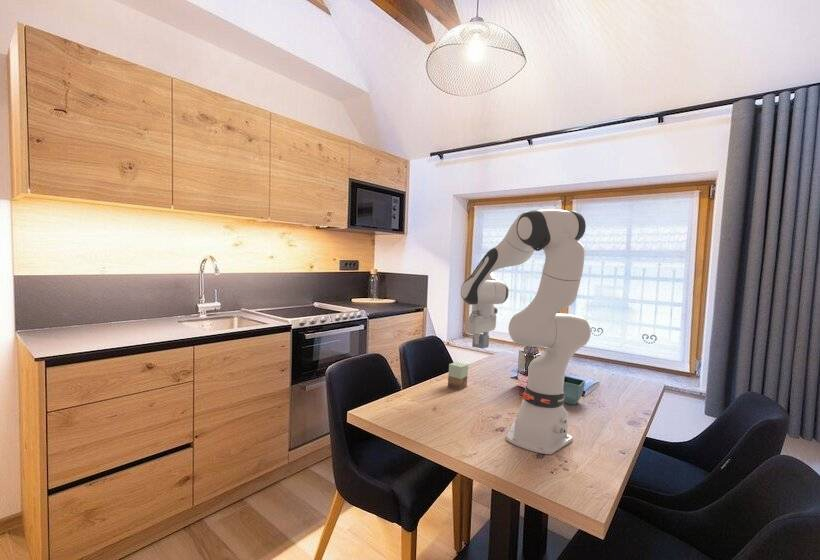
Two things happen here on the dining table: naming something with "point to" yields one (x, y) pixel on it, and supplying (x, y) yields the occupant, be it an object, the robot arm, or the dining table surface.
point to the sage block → (458, 370)
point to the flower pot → (573, 389)
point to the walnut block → (457, 383)
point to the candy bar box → (523, 360)
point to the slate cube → (481, 341)
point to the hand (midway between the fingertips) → (480, 342)
